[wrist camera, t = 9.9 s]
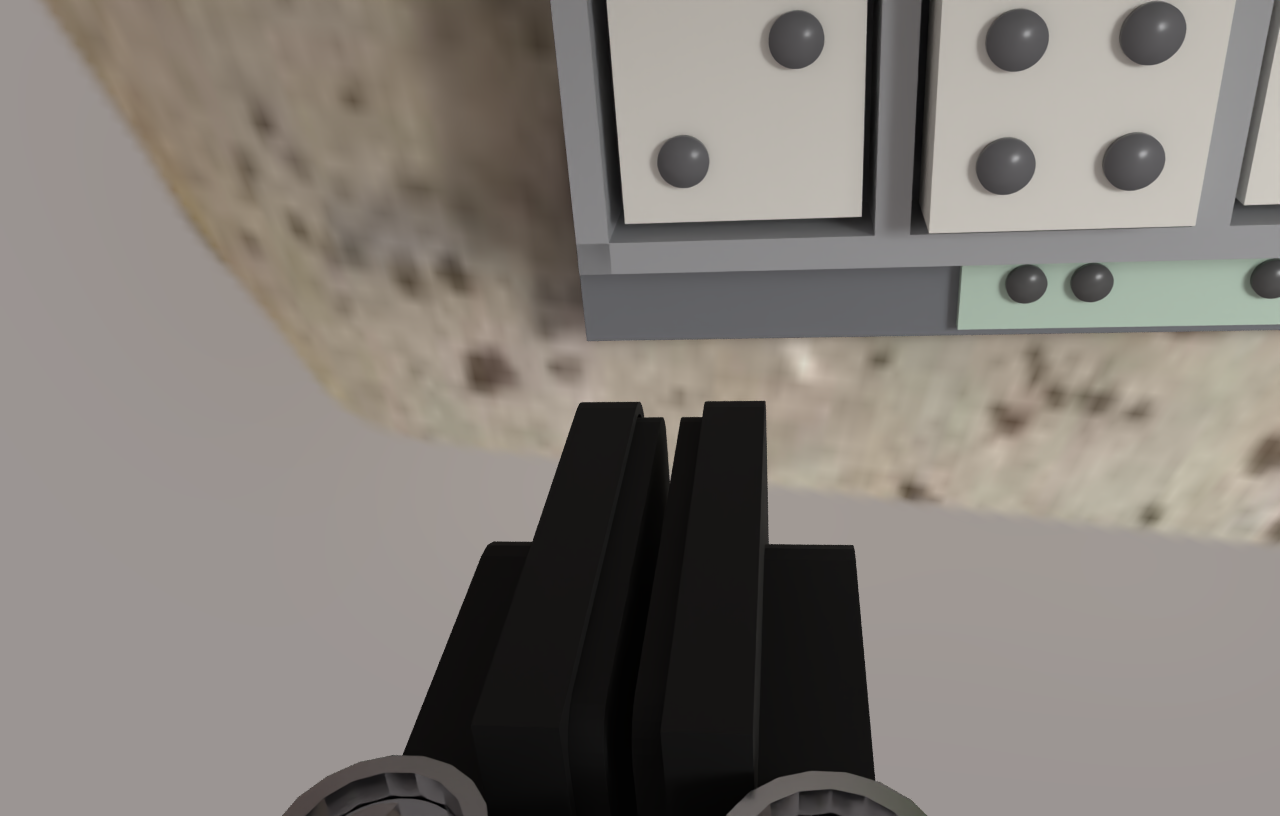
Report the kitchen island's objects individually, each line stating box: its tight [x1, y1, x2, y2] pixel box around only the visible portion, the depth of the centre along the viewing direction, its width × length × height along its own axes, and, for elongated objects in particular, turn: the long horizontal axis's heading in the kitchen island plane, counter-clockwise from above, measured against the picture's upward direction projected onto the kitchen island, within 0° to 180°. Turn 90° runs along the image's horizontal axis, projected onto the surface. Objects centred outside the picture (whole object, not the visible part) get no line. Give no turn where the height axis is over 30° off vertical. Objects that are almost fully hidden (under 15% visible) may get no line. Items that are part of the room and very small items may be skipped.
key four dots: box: [919, 0, 1236, 233], centre depth 24 cm, size 6×6×2 cm
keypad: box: [550, 0, 1280, 341], centre depth 25 cm, size 30×14×4 cm, turn 94°
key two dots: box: [606, 0, 867, 224], centre depth 26 cm, size 6×6×2 cm
